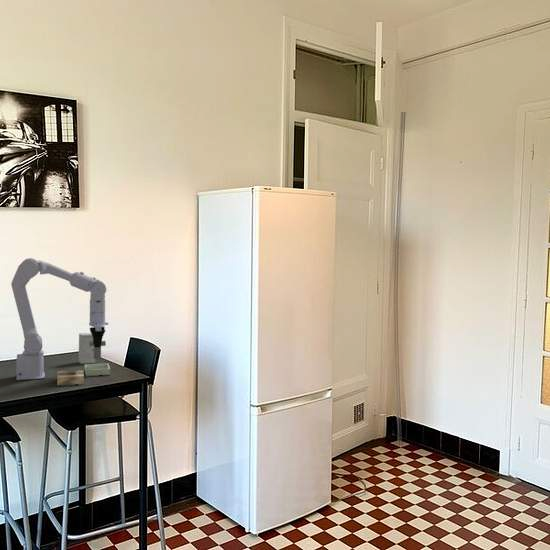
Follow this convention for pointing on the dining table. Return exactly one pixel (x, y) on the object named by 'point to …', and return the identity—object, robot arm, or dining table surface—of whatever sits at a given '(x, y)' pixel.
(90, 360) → the skincare box
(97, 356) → the t key
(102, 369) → the tray
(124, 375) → the dining table surface
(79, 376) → the key block
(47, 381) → the dining table surface
